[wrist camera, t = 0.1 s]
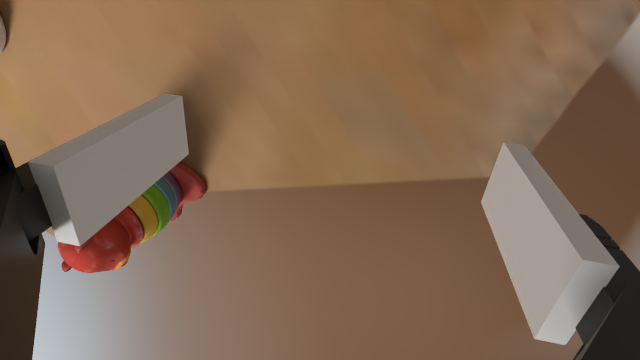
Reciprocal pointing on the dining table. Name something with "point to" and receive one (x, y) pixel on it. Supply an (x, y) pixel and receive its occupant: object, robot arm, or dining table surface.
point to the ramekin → (2, 35)
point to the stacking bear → (135, 223)
